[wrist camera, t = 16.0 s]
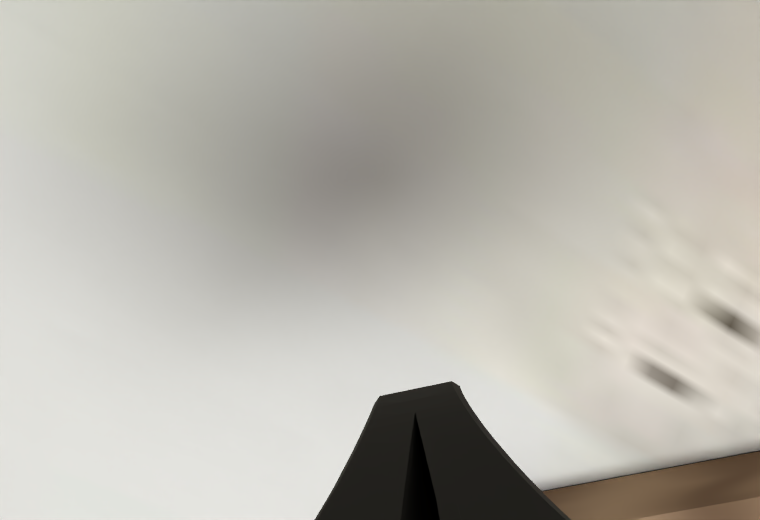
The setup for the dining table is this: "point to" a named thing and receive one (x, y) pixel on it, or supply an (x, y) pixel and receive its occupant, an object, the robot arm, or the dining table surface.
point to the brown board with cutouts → (670, 493)
